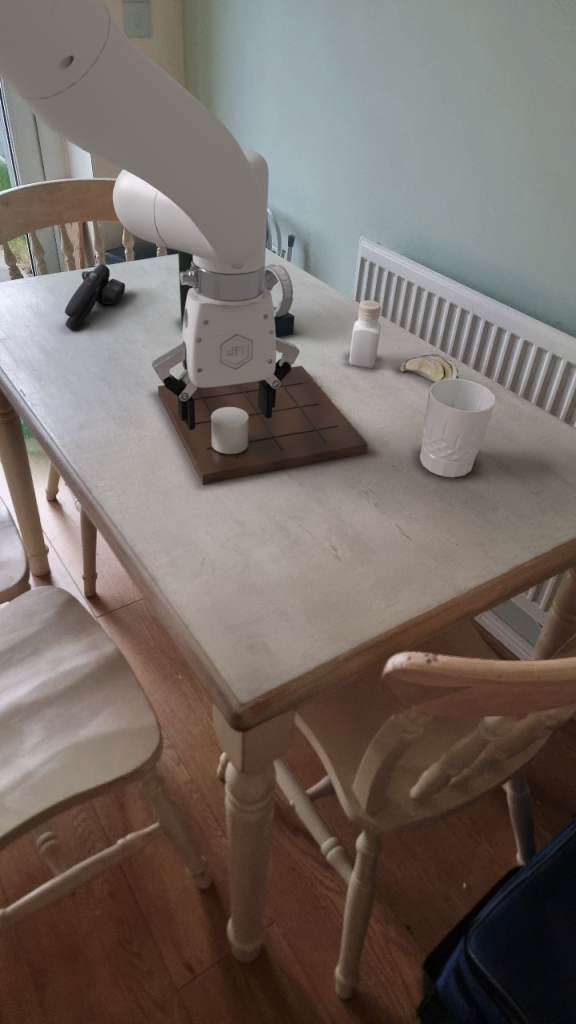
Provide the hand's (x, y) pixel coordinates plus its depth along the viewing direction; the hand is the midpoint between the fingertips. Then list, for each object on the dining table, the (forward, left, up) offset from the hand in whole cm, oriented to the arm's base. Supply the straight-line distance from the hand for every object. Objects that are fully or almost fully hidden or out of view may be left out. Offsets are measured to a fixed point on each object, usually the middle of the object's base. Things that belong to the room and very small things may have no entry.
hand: (227, 418), depth 84 cm
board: (+6, +6, -6) cm, 11 cm away
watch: (+18, +32, -6) cm, 38 cm away
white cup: (+26, -10, -6) cm, 29 cm away
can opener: (-9, +48, -6) cm, 49 cm away
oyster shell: (+35, +10, -6) cm, 37 cm away
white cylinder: (0, 0, -4) cm, 4 cm away
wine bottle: (+7, +38, -6) cm, 39 cm away
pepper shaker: (+28, +18, -6) cm, 34 cm away
